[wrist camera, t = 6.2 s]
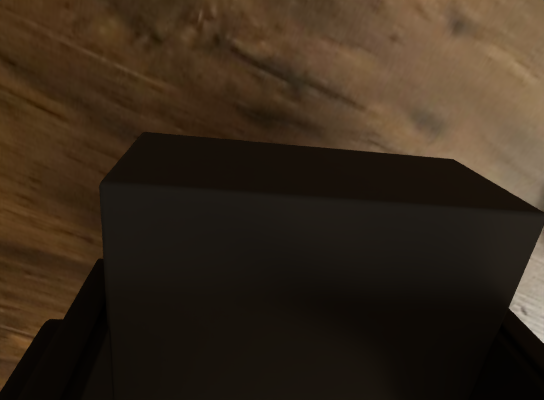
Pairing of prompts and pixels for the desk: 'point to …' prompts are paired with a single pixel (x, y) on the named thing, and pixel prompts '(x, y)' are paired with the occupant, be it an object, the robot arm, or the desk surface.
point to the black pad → (304, 271)
